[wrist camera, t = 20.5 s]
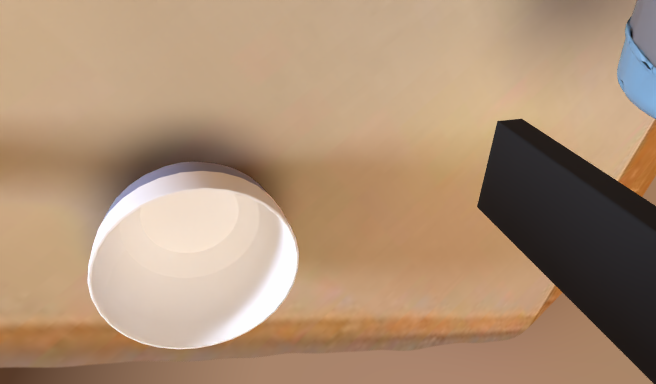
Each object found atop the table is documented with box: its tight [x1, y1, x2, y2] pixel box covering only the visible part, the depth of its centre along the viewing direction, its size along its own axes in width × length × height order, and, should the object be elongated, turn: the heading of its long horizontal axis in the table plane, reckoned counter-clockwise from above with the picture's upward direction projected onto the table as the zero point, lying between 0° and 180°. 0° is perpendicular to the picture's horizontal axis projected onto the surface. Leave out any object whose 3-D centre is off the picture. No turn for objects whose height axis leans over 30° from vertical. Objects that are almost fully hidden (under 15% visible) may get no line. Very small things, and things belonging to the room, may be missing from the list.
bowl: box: [88, 161, 299, 349], centre depth 43 cm, size 16×16×10 cm
